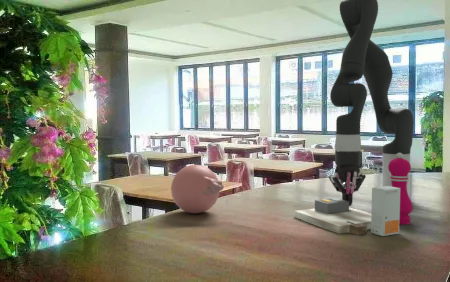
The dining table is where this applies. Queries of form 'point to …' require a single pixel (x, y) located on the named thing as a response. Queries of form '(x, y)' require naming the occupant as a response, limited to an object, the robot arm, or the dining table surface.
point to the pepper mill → (401, 185)
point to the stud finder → (331, 205)
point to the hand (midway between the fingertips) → (347, 205)
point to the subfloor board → (338, 220)
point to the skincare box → (385, 210)
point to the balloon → (195, 189)
